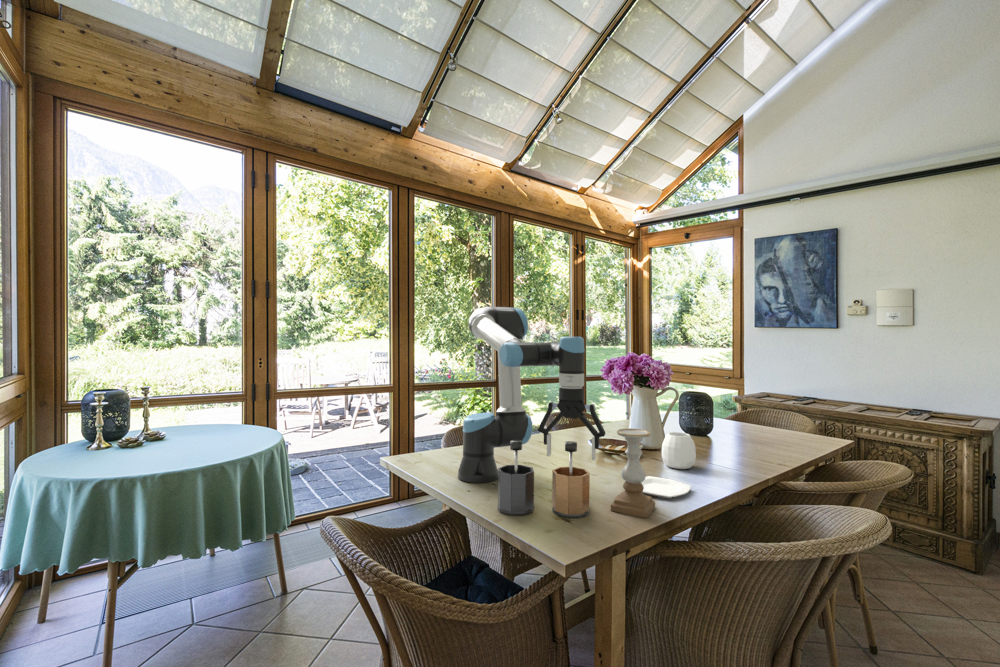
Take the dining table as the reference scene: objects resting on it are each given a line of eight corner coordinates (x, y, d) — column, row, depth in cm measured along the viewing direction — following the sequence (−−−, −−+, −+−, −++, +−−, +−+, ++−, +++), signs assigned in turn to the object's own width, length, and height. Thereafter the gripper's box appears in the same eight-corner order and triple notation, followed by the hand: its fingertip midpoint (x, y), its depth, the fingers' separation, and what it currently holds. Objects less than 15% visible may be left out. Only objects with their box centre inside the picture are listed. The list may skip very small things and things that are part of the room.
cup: (666, 460, 199) (666, 429, 199) (699, 466, 191) (699, 433, 191) (657, 467, 188) (657, 434, 188) (691, 473, 181) (691, 439, 181)
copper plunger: (552, 504, 140) (552, 442, 140) (565, 497, 146) (566, 438, 146) (575, 511, 135) (576, 447, 135) (588, 503, 141) (589, 442, 141)
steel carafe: (490, 509, 141) (490, 470, 141) (516, 497, 152) (517, 461, 152) (519, 518, 134) (520, 477, 134) (545, 505, 145) (545, 467, 145)
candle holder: (646, 518, 135) (647, 436, 135) (610, 511, 141) (610, 432, 141) (655, 507, 144) (656, 430, 145) (621, 500, 150) (621, 426, 150)
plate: (646, 479, 174) (646, 473, 174) (698, 491, 161) (698, 485, 161) (619, 490, 161) (619, 485, 161) (673, 505, 147) (673, 499, 147)
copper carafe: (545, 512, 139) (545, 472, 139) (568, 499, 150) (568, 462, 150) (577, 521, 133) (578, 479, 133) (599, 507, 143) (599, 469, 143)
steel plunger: (497, 502, 141) (498, 441, 141) (513, 495, 148) (513, 437, 148) (518, 508, 136) (519, 445, 136) (533, 501, 143) (534, 440, 143)
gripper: (528, 386, 141) (527, 456, 141) (612, 390, 133) (612, 464, 133) (534, 384, 148) (533, 450, 148) (614, 387, 140) (614, 457, 140)
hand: (570, 457), depth 140 cm, fingers open, 13 cm apart
